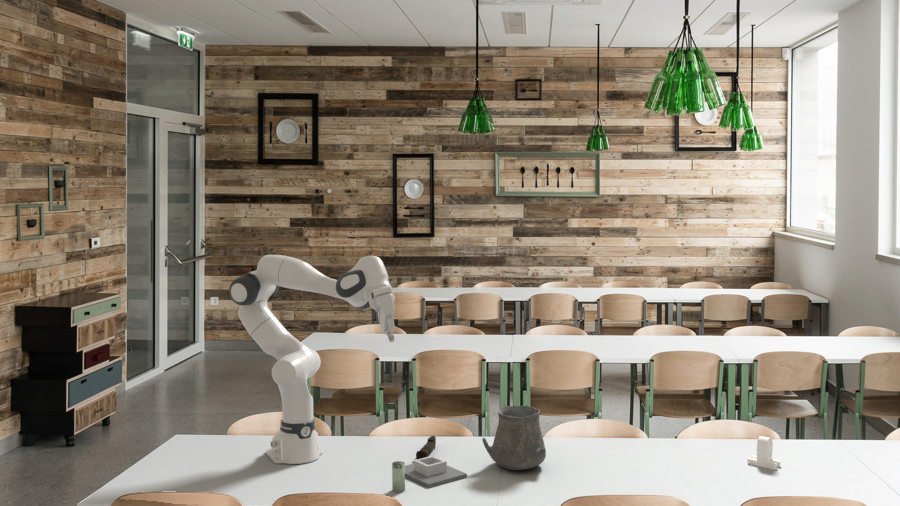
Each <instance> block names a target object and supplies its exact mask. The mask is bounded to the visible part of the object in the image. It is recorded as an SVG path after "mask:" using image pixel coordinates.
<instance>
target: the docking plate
mask: <svg viewBox="0 0 900 506" xmlns="http://www.w3.org/2000/svg"><path fill="white" fill-rule="evenodd" d="M447 464H448V463H447V461H446V460H444V459H441V458H439V457H436V456H434V455H430V456H427V457H426V458H421V459H415V460H414V459H413V463H411V464H405V478H407V479H410V480H411V481H412V482H413V481H414V482H416V483H418V484H420V485H422V486H424V487H425V488H428V489H430V488H433V487H436V486H439V485H440V484H441V485H444V484H447V483H451V482H452V483H453V482H455V481H458V480H463V479H466V478H468V474H467V473H466V472H463V471H461V470H459V469H457V468H455V467H452V466H450V465H447ZM429 487H430V488H429Z"/></svg>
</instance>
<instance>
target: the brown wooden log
mask: <svg viewBox="0 0 900 506" xmlns="http://www.w3.org/2000/svg"><path fill="white" fill-rule="evenodd" d="M436 441H437V439H436V435H431V436H429V437H428V438H427V442H426V443H425V444H424V445H423V446H422V447H421V448H420V450H417V451H416V453H415V460H417V459H421V458H426V457H429V455H430V454H431V453H432V452H433V451H434V450H435V449H436V444H437V442H436ZM433 449H434V450H433Z"/></svg>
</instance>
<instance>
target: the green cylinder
mask: <svg viewBox="0 0 900 506" xmlns="http://www.w3.org/2000/svg"><path fill="white" fill-rule="evenodd" d="M405 463H406V462H404V461H402V460H400V461H399V460H396V461H393V462H392V463H391V467H392V468H391V473H392V475H391V477H392V478H391V481H392V482H391V483H392V487H391V489H392V492H393V493H394V494H395V493H397V494H401V493H404V492H405V491H406V483H405V481H406V480H405V479H406V477H405V466H406V464H405Z"/></svg>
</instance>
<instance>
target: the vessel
mask: <svg viewBox="0 0 900 506" xmlns="http://www.w3.org/2000/svg"><path fill="white" fill-rule="evenodd" d="M540 412H541V410H540V409H539V408H536V407H533V406H528V405H507V406H502V407H499V408H498V409H497V415H498V424H497V428H496V432H495V435H494V438H493V443H492V445H491V446H490V445H489V443H488V441H487V439H486V438H485V437H482V439H481V440H482V443H483V446H484V448H485V449H486V452H487V454H488V455H489V456H490V459H492V461H493V462H494V463H496V464H497V465H498V466H500V467H502V468H504V469H506V470H510V471H524V470H529V469H533V468H536V467H538V466H539V465H541V464H543V462H544V461H545V459H546V457H547V452H546V451H547V450H546V445H545V441H544V437H543V434H542V429H541V425H540Z"/></svg>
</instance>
